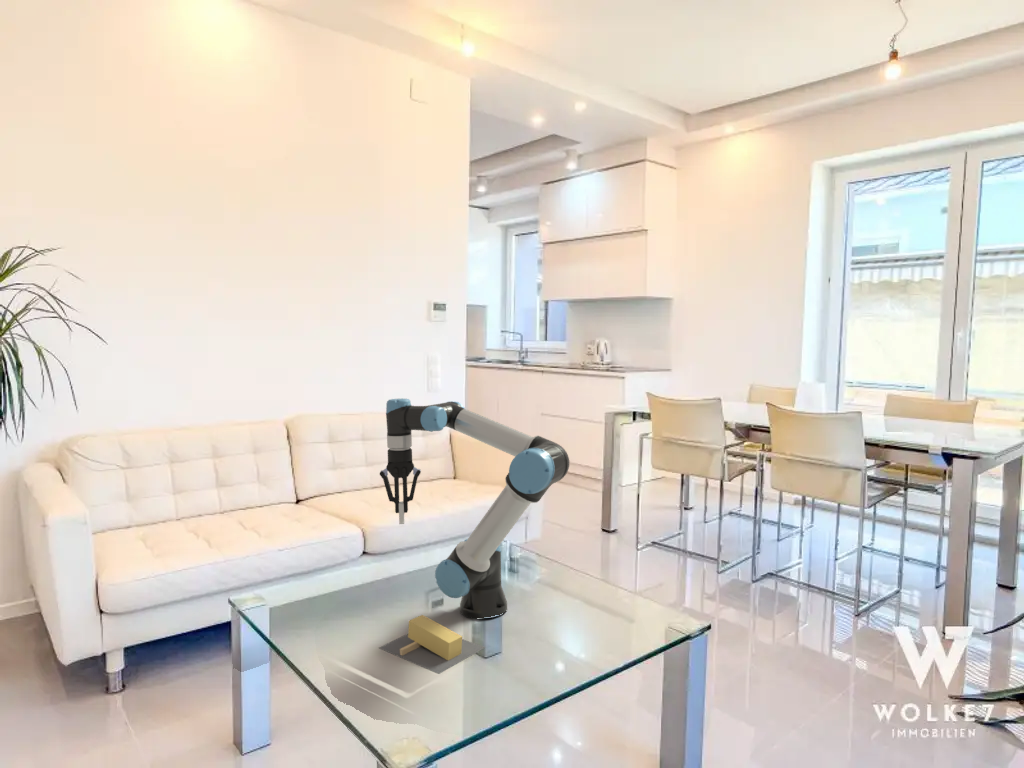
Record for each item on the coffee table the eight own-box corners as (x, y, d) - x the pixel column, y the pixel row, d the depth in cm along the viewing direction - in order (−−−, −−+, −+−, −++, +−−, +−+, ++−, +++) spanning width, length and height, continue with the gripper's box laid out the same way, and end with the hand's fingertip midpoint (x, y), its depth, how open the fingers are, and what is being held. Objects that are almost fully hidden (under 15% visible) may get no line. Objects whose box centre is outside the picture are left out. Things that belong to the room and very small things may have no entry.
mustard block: (409, 620, 183) (449, 643, 173) (422, 614, 187) (462, 636, 177) (408, 637, 183) (448, 660, 173) (421, 631, 187) (461, 653, 177)
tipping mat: (378, 650, 182) (378, 642, 182) (425, 628, 196) (425, 620, 196) (439, 676, 167) (438, 668, 166) (485, 650, 181) (485, 642, 180)
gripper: (421, 445, 207) (423, 518, 209) (379, 447, 206) (382, 520, 207) (420, 449, 200) (422, 525, 201) (377, 451, 198) (379, 527, 200)
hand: (402, 522), depth 204 cm, fingers closed
